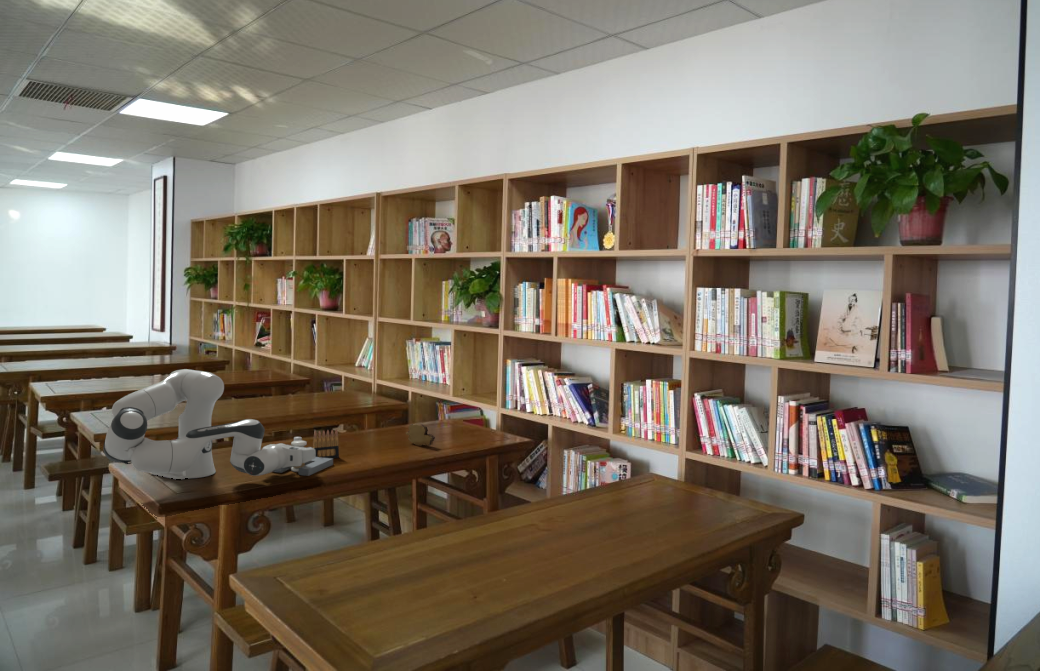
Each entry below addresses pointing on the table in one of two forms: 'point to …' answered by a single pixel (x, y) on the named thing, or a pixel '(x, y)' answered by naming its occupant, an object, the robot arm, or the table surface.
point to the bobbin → (298, 444)
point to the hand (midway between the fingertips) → (300, 448)
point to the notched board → (310, 464)
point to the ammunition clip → (326, 445)
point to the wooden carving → (420, 435)
